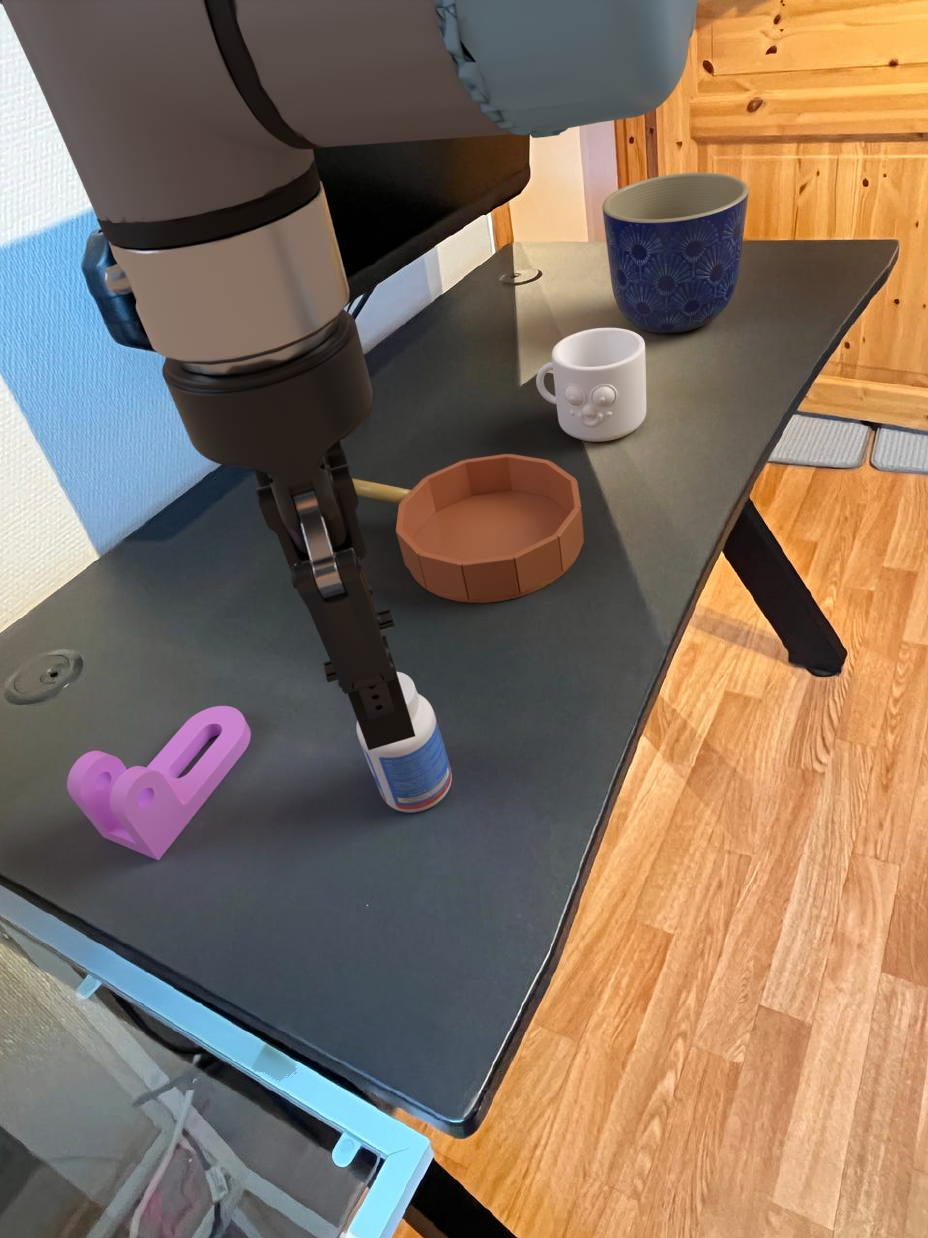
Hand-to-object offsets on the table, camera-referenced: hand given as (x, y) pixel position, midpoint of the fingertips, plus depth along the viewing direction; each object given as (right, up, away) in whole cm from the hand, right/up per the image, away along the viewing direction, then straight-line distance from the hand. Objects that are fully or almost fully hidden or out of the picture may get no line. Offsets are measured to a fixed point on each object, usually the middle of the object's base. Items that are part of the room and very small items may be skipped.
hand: (389, 733), depth 47 cm
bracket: (-17, -6, +18) cm, 26 cm away
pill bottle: (+1, -6, +14) cm, 15 cm away
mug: (+19, +28, +47) cm, 58 cm away
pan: (+2, +15, +36) cm, 39 cm away
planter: (+32, +46, +63) cm, 84 cm away
